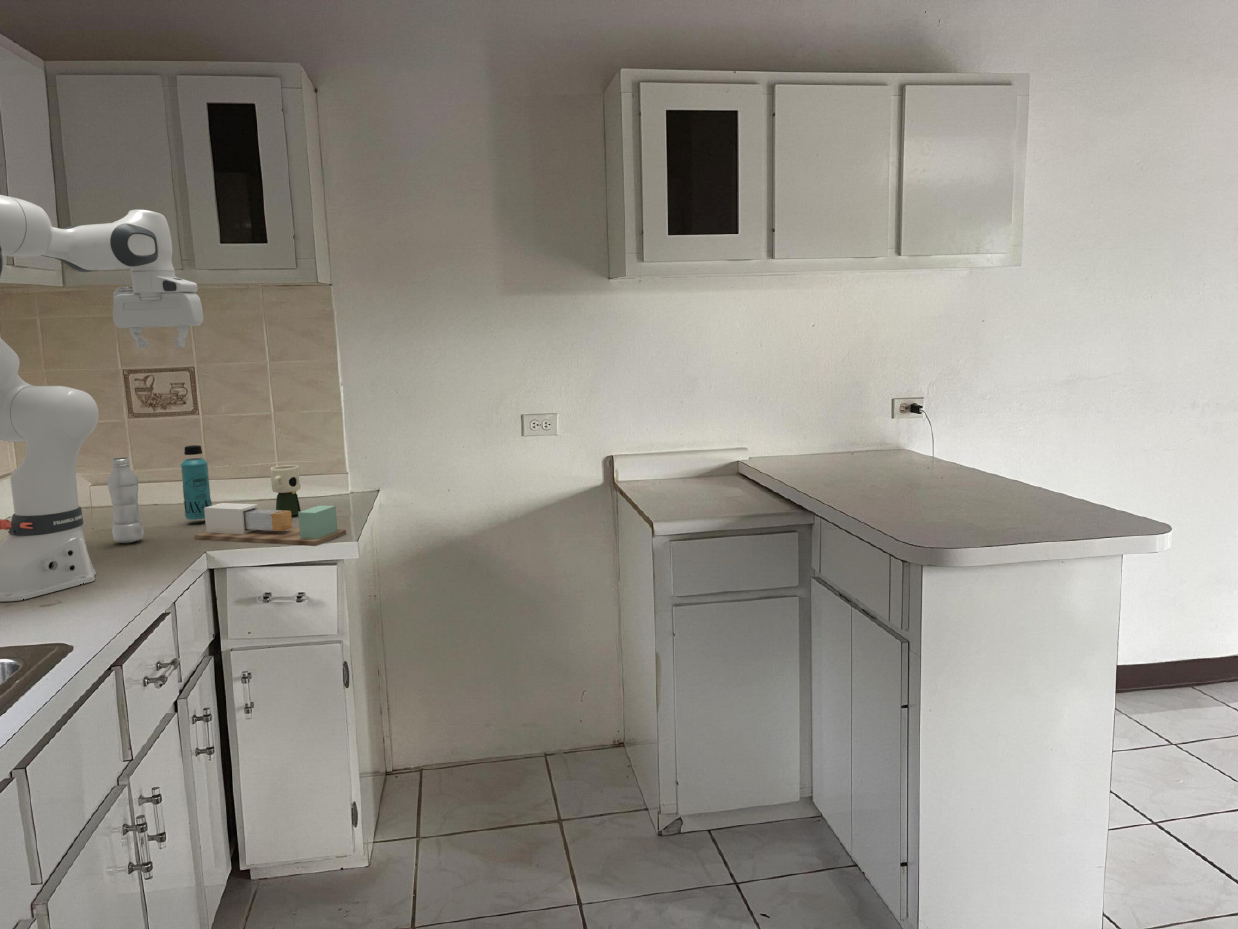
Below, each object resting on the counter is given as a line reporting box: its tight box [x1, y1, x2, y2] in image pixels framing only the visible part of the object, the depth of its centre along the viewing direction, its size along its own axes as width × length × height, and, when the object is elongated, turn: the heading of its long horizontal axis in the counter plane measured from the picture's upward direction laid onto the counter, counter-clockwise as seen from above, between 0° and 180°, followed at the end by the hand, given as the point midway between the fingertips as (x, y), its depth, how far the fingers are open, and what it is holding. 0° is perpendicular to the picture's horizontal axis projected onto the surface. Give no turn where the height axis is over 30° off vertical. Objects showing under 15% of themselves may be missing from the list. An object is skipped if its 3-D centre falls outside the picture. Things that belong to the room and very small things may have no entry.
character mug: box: [269, 464, 302, 516], centre depth 248 cm, size 11×7×13 cm, turn 173°
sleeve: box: [204, 502, 259, 534], centre depth 227 cm, size 11×6×6 cm, turn 73°
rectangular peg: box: [243, 508, 293, 531], centre depth 225 cm, size 20×4×4 cm, turn 73°
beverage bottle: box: [180, 444, 212, 521], centre depth 241 cm, size 6×7×20 cm
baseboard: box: [193, 526, 347, 547], centre depth 224 cm, size 34×12×1 cm, turn 73°
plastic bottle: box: [106, 456, 145, 544], centre depth 221 cm, size 6×7×20 cm
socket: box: [297, 505, 338, 539], centre depth 220 cm, size 4×8×6 cm, turn 163°
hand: (161, 347), depth 213 cm, fingers open, 8 cm apart
